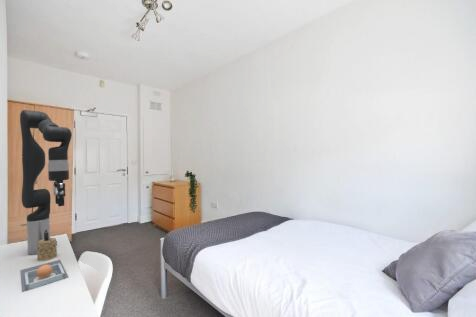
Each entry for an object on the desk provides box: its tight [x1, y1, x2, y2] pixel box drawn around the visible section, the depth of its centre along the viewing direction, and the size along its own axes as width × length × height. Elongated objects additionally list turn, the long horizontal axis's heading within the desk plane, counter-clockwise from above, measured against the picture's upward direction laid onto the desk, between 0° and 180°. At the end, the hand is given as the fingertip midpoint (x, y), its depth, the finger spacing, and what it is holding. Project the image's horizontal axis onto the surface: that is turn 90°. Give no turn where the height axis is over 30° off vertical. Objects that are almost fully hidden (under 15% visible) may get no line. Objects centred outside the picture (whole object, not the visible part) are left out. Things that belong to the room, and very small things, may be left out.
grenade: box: [36, 229, 58, 262], centre depth 114 cm, size 8×7×15 cm
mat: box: [19, 259, 69, 293], centre depth 98 cm, size 24×14×1 cm, turn 45°
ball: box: [36, 265, 52, 278], centre depth 94 cm, size 5×5×5 cm
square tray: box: [25, 263, 66, 292], centre depth 94 cm, size 14×12×2 cm
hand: (59, 204), depth 106 cm, fingers open, 8 cm apart
